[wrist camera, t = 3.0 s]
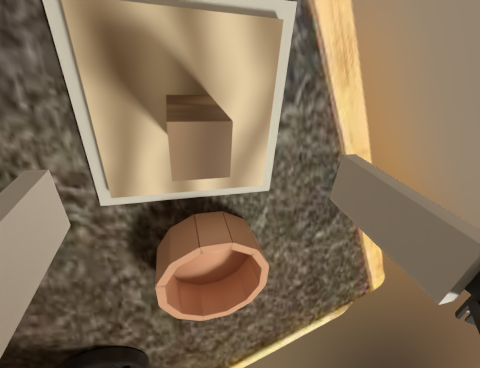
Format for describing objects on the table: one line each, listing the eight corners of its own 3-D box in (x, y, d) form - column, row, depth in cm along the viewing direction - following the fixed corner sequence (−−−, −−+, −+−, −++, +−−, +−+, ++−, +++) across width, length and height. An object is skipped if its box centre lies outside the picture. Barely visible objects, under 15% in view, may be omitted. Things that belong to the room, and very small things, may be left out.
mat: (102, 202, 26) (100, 205, 26) (36, -33, 16) (32, -35, 16) (267, 188, 31) (269, 190, 31) (293, 2, 22) (296, 1, 21)
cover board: (113, 193, 25) (87, 264, 17) (64, -4, 17) (-32, -50, 9) (259, 181, 30) (295, 234, 22) (279, 20, 21) (350, 5, 13)
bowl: (163, 290, 36) (163, 329, 31) (152, 218, 29) (149, 254, 24) (249, 274, 40) (261, 307, 35) (258, 207, 33) (274, 236, 28)
